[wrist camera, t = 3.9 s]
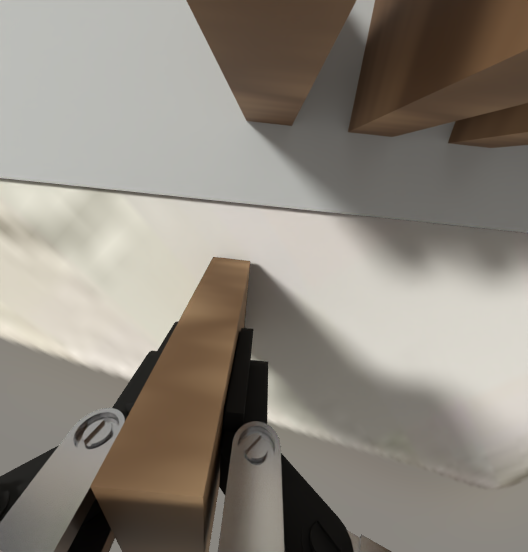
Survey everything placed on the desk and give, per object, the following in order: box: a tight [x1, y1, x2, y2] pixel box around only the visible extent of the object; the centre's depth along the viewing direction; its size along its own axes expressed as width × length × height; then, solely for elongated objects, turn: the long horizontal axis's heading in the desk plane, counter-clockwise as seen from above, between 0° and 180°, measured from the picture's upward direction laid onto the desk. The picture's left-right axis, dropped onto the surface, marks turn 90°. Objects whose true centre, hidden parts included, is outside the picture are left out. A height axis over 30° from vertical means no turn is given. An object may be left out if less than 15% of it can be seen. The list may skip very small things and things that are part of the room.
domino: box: [90, 257, 250, 552], centre depth 10 cm, size 2×5×10 cm, turn 173°
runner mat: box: [0, 0, 528, 233], centre depth 10 cm, size 35×12×1 cm, turn 84°
